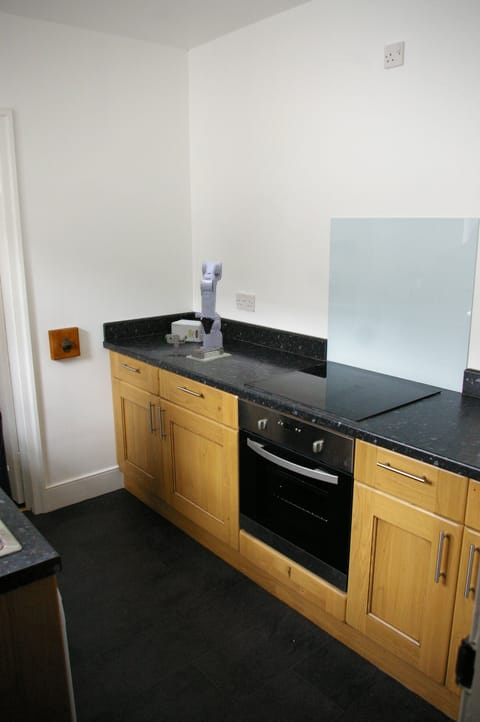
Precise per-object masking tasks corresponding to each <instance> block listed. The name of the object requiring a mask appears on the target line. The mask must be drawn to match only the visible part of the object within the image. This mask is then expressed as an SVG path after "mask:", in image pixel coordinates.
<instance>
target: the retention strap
mask: <svg viewBox="0 0 480 722" xmlns="http://www.w3.org/2000/svg"><path fill="white" fill-rule="evenodd" d="M222 347H223V346H222ZM222 347H219V346H213V347H208V348H204V349H201V348H198V349H193V350H194V352H195V353H200V352H208V351H212V350H217V349H223V348H222Z"/></svg>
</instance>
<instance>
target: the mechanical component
mask: <svg viewBox="0 0 480 722" xmlns="http://www.w3.org/2000/svg"><path fill="white" fill-rule="evenodd" d="M164 335H165V336H164V339H166V342H167V344H173V347H174V356H175V357H178V356H179V347H180V344H185V343H186V342H187V341H186V339H187V336H186V335H184V337H183V338H180V336H179V335H178V334H172V333H171V334H170V333H169V334H168V333H167V334H164ZM172 338H173V339H172ZM183 340H184V341H183Z"/></svg>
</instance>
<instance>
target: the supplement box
mask: <svg viewBox="0 0 480 722" xmlns="http://www.w3.org/2000/svg"><path fill="white" fill-rule="evenodd" d="M171 334H178V335H179V336H180V338H183V337H184V335H186V336H187V339H186V341H185V342H193V341H194V342H196V343H201V342H203V330H201V328H200V320H192V319H191V320H190V319H189V320H188V319H180V320H177V321H173V322H171ZM172 339H173V338H172V337H171V340H172ZM194 342H193V343H194Z"/></svg>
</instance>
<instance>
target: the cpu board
mask: <svg viewBox="0 0 480 722" xmlns="http://www.w3.org/2000/svg"><path fill="white" fill-rule="evenodd" d="M194 350H195V349H193V350H191V351H190V352H191V353H190V355H187V356H186V359H189V360H193V361H198V362H202V363H207V362H211V361H215V360H220V359H225V358H230V357H232V354H230V353H226V352H225V350H224V348H222V349H217V350H212V351H208V352H200V353H195V352H194Z"/></svg>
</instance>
